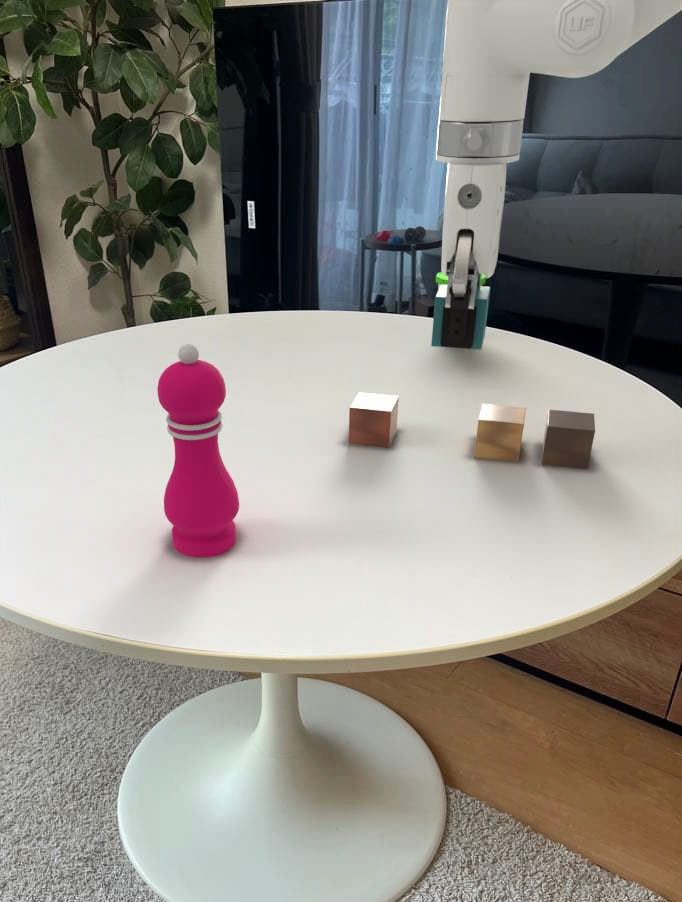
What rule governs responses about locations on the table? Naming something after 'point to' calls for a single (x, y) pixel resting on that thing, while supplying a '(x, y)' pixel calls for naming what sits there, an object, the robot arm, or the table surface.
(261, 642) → the table surface
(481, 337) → the teal block
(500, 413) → the oak block
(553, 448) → the walnut block
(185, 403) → the pepper mill
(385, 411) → the cherry block
